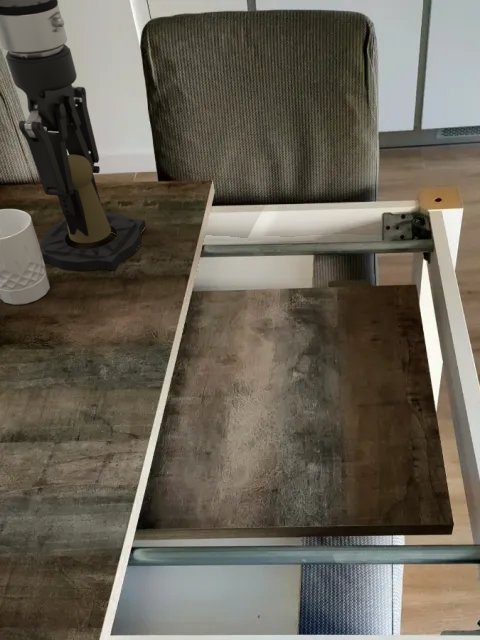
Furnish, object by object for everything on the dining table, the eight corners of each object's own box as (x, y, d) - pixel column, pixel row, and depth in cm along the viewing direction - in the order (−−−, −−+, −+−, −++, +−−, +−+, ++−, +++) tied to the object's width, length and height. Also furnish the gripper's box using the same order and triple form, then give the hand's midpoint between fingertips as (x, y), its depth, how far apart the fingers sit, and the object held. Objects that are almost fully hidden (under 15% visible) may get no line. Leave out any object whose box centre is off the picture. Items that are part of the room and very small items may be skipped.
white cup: (21, 314, 86) (-7, 246, 79) (-18, 296, 89) (-49, 229, 82) (66, 285, 90) (44, 218, 83) (27, 269, 93) (2, 203, 86)
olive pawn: (62, 231, 97) (38, 157, 89) (99, 218, 99) (79, 145, 91) (80, 247, 93) (57, 172, 86) (118, 233, 96) (99, 159, 88)
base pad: (26, 265, 94) (23, 255, 93) (71, 217, 104) (69, 208, 103) (118, 275, 92) (115, 266, 91) (155, 225, 102) (153, 216, 101)
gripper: (29, 73, 72) (85, 259, 89) (96, 28, 84) (135, 200, 101) (-32, 69, 74) (35, 253, 90) (43, 25, 85) (89, 196, 102)
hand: (87, 225), depth 96 cm, fingers closed on olive pawn, 4 cm apart
